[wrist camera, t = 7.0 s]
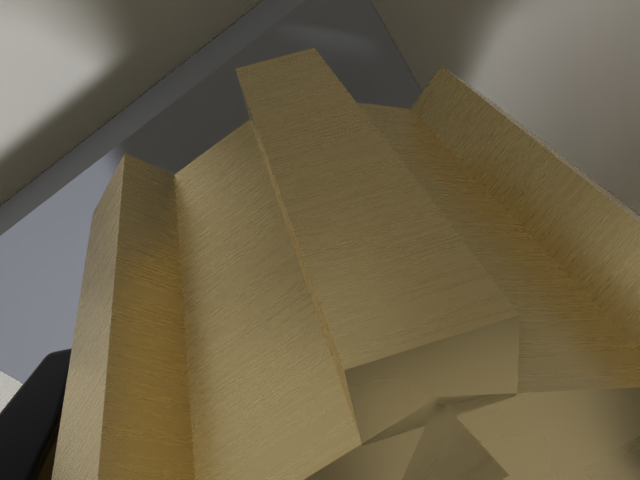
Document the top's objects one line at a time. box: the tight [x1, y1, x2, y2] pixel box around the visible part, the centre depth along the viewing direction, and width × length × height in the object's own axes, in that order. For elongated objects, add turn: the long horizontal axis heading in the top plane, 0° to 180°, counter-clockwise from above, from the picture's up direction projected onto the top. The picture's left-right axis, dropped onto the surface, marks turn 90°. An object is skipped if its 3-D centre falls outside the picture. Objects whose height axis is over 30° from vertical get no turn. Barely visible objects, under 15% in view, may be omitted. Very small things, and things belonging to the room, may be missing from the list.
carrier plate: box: [0, 0, 422, 384], centre depth 14 cm, size 18×10×5 cm, turn 33°
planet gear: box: [51, 48, 640, 480], centre depth 7 cm, size 7×7×5 cm
